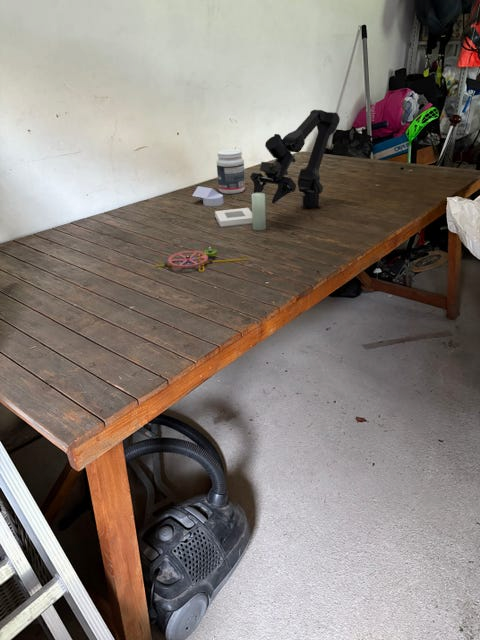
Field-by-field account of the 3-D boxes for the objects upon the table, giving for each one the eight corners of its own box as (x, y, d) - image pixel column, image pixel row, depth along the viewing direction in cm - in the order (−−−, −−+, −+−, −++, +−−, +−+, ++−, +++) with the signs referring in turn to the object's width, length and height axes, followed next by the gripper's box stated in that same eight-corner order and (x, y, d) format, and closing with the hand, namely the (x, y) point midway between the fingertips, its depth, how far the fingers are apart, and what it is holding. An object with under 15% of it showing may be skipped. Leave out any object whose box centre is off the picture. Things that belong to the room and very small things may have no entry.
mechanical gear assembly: (156, 259, 170) (154, 278, 158) (155, 247, 168) (152, 266, 155) (244, 252, 172) (249, 271, 159) (244, 241, 170) (249, 259, 157)
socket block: (248, 213, 210) (248, 207, 208) (255, 223, 197) (255, 217, 196) (215, 216, 207) (214, 211, 206) (220, 227, 195) (220, 221, 194)
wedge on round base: (192, 203, 227) (214, 207, 220) (191, 188, 224) (213, 192, 217) (205, 198, 233) (227, 202, 226) (204, 183, 230) (226, 187, 223)
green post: (264, 225, 195) (263, 192, 189) (267, 229, 190) (266, 195, 184) (251, 226, 194) (250, 193, 188) (254, 231, 190) (253, 196, 183)
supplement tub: (217, 188, 248) (214, 150, 239) (243, 186, 248) (241, 148, 240) (219, 195, 236) (216, 155, 227) (246, 193, 237) (245, 153, 228)
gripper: (252, 150, 190) (233, 185, 189) (291, 155, 179) (272, 192, 177) (265, 167, 199) (248, 201, 197) (304, 173, 188) (286, 209, 186)
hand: (263, 201), depth 189 cm, fingers open, 9 cm apart
